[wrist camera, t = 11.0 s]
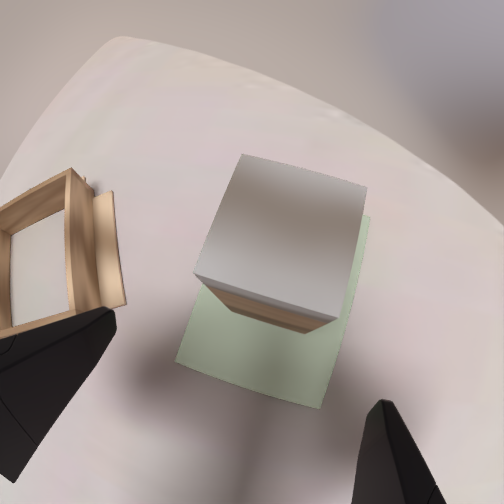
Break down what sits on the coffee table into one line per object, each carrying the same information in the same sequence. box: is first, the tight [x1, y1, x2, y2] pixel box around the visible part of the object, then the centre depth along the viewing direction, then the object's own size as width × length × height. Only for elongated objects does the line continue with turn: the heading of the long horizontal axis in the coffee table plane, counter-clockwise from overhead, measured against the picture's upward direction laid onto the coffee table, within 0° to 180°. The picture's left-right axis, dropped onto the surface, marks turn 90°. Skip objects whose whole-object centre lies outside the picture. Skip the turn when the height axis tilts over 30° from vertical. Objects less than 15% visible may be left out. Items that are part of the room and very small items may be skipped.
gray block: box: [193, 154, 367, 334], centre depth 15 cm, size 5×5×10 cm
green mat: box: [175, 215, 370, 409], centre depth 20 cm, size 14×10×1 cm
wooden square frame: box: [0, 167, 126, 339], centre depth 20 cm, size 16×16×4 cm
